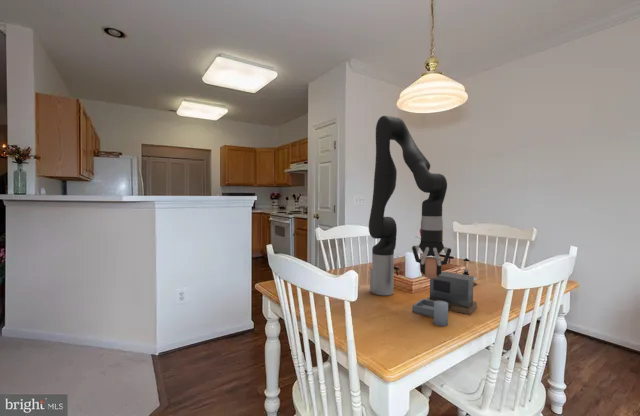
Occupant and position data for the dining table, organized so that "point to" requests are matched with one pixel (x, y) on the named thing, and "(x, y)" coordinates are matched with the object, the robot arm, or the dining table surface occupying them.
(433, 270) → the terracotta part
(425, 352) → the dining table surface
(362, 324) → the dining table surface
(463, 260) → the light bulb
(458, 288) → the unit
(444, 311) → the slate part
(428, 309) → the tray
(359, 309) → the dining table surface
